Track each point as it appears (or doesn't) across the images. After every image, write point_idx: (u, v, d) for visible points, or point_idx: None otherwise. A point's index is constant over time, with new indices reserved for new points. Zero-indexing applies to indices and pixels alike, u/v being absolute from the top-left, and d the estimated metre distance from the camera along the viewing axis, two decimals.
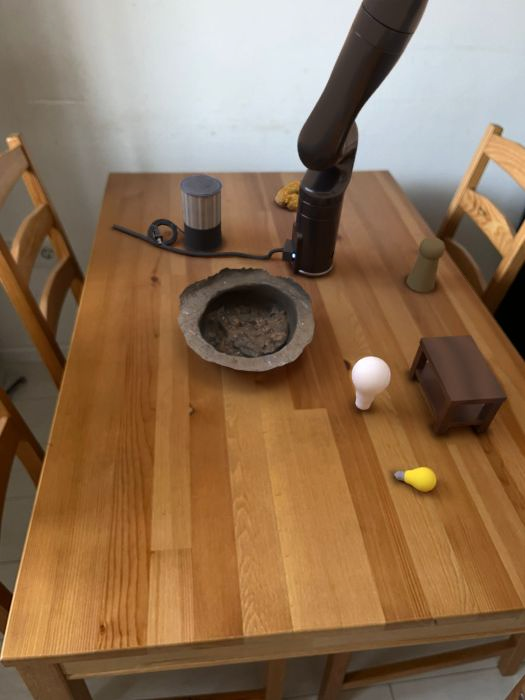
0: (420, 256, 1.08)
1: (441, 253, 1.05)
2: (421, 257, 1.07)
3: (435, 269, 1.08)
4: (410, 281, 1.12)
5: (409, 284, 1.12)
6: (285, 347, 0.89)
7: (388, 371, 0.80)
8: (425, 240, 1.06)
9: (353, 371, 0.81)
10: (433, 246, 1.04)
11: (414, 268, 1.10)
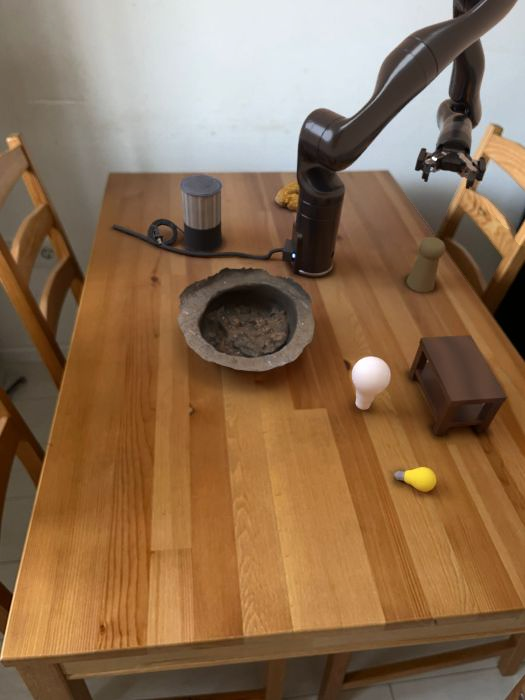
0: (420, 256, 1.08)
1: (441, 253, 1.05)
2: (421, 257, 1.07)
3: (435, 269, 1.08)
4: (410, 281, 1.12)
5: (409, 284, 1.12)
6: (285, 347, 0.89)
7: (388, 371, 0.80)
8: (425, 240, 1.06)
9: (353, 371, 0.81)
10: (433, 246, 1.04)
11: (414, 268, 1.10)
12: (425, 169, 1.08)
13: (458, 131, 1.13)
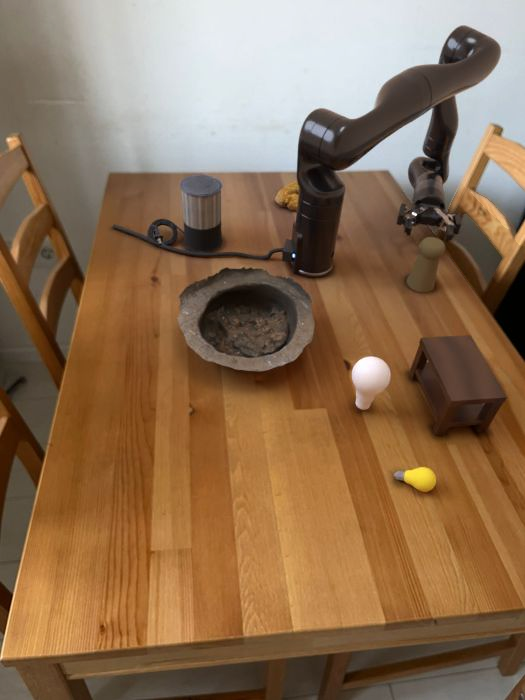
0: (420, 256, 1.08)
1: (441, 253, 1.05)
2: (421, 257, 1.07)
3: (435, 269, 1.08)
4: (410, 281, 1.12)
5: (409, 284, 1.12)
6: (285, 347, 0.89)
7: (388, 371, 0.80)
8: (425, 240, 1.06)
9: (353, 371, 0.81)
10: (433, 246, 1.04)
11: (414, 268, 1.10)
12: (407, 224, 1.16)
13: (433, 188, 1.23)
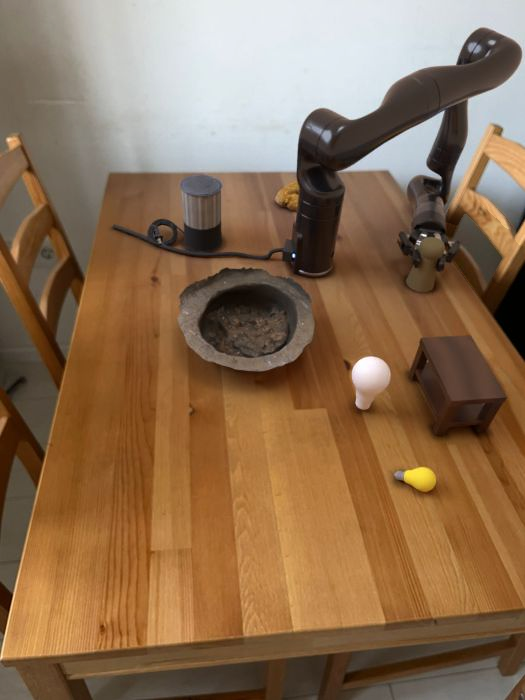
0: (420, 256, 1.08)
1: (441, 253, 1.05)
2: (421, 257, 1.07)
3: (435, 269, 1.08)
4: (410, 281, 1.12)
5: (409, 284, 1.12)
6: (285, 347, 0.89)
7: (388, 371, 0.80)
8: (425, 240, 1.06)
9: (353, 371, 0.81)
10: (433, 246, 1.04)
11: (414, 268, 1.10)
12: (415, 255, 1.08)
13: (433, 212, 1.15)
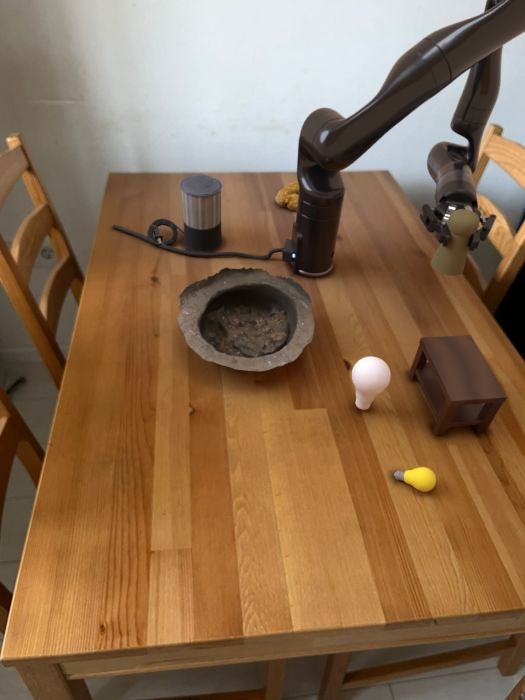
0: None
1: (475, 228, 0.87)
2: (450, 233, 0.90)
3: (467, 248, 0.91)
4: (436, 263, 0.94)
5: (434, 266, 0.94)
6: (285, 347, 0.89)
7: (388, 371, 0.80)
8: (456, 212, 0.88)
9: (353, 371, 0.81)
10: (466, 219, 0.87)
11: (441, 247, 0.92)
12: (443, 231, 0.90)
13: (462, 181, 0.97)
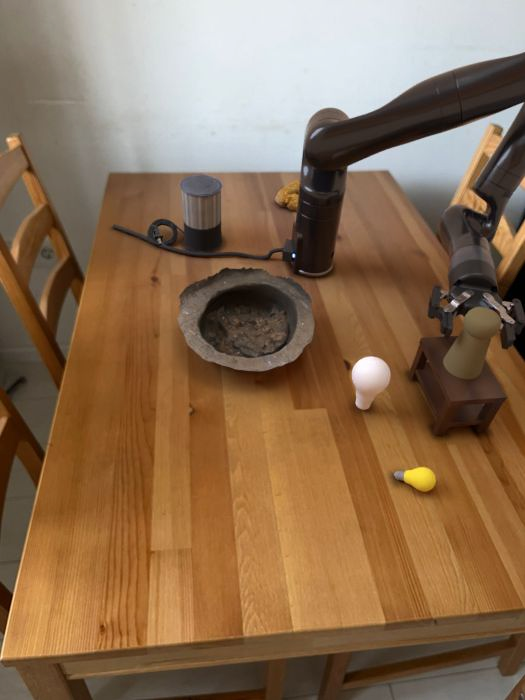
0: (465, 333, 0.77)
1: (496, 331, 0.75)
2: (466, 335, 0.77)
3: (485, 350, 0.78)
4: (449, 364, 0.81)
5: (447, 367, 0.82)
6: (285, 347, 0.89)
7: (388, 371, 0.80)
8: (473, 312, 0.76)
9: (353, 371, 0.81)
10: (485, 322, 0.74)
11: (455, 347, 0.80)
12: (445, 320, 0.78)
13: (480, 262, 0.84)
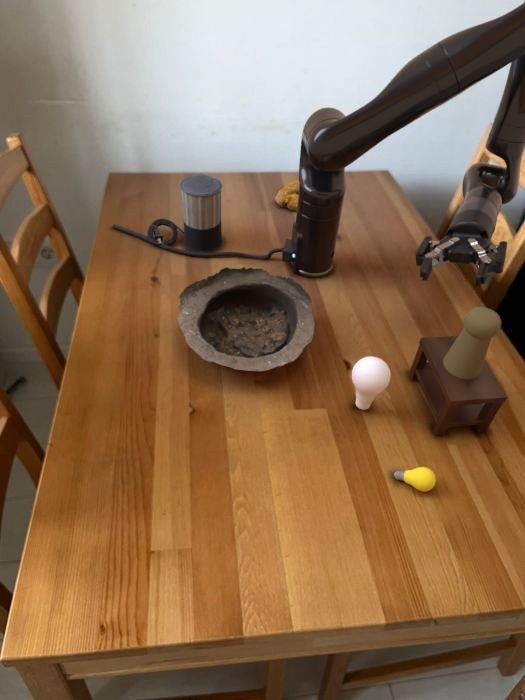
0: (465, 333, 0.77)
1: (496, 331, 0.75)
2: (467, 335, 0.77)
3: (485, 350, 0.78)
4: (449, 364, 0.81)
5: (448, 367, 0.82)
6: (285, 347, 0.89)
7: (388, 371, 0.80)
8: (473, 312, 0.76)
9: (353, 371, 0.81)
10: (485, 322, 0.74)
11: (455, 347, 0.80)
12: (423, 265, 0.87)
13: (472, 211, 0.91)
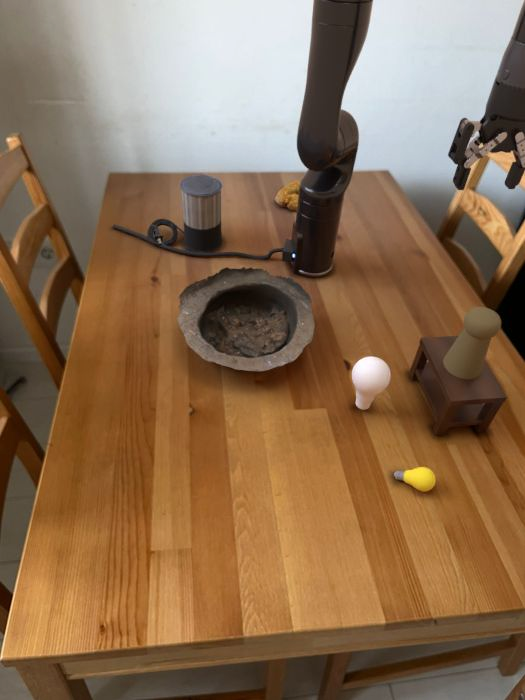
0: (465, 333, 0.77)
1: (496, 331, 0.75)
2: (467, 335, 0.77)
3: (485, 350, 0.78)
4: (449, 364, 0.81)
5: (448, 367, 0.82)
6: (285, 347, 0.89)
7: (388, 371, 0.80)
8: (473, 312, 0.76)
9: (353, 371, 0.81)
10: (485, 322, 0.74)
11: (455, 347, 0.80)
12: None
13: None
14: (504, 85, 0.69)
